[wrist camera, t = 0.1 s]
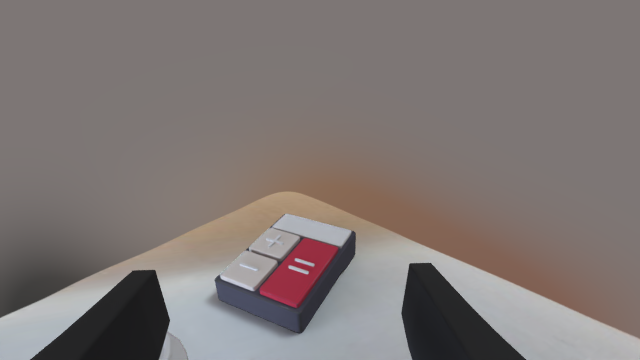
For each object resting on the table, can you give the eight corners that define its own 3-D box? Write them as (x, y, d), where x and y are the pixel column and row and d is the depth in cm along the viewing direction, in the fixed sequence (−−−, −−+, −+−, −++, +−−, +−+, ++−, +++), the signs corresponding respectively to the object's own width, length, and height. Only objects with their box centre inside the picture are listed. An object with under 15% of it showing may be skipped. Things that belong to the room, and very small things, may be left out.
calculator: (211, 274, 38) (284, 208, 50) (217, 303, 40) (286, 233, 52) (299, 308, 34) (357, 226, 45) (301, 339, 35) (356, 253, 47)
